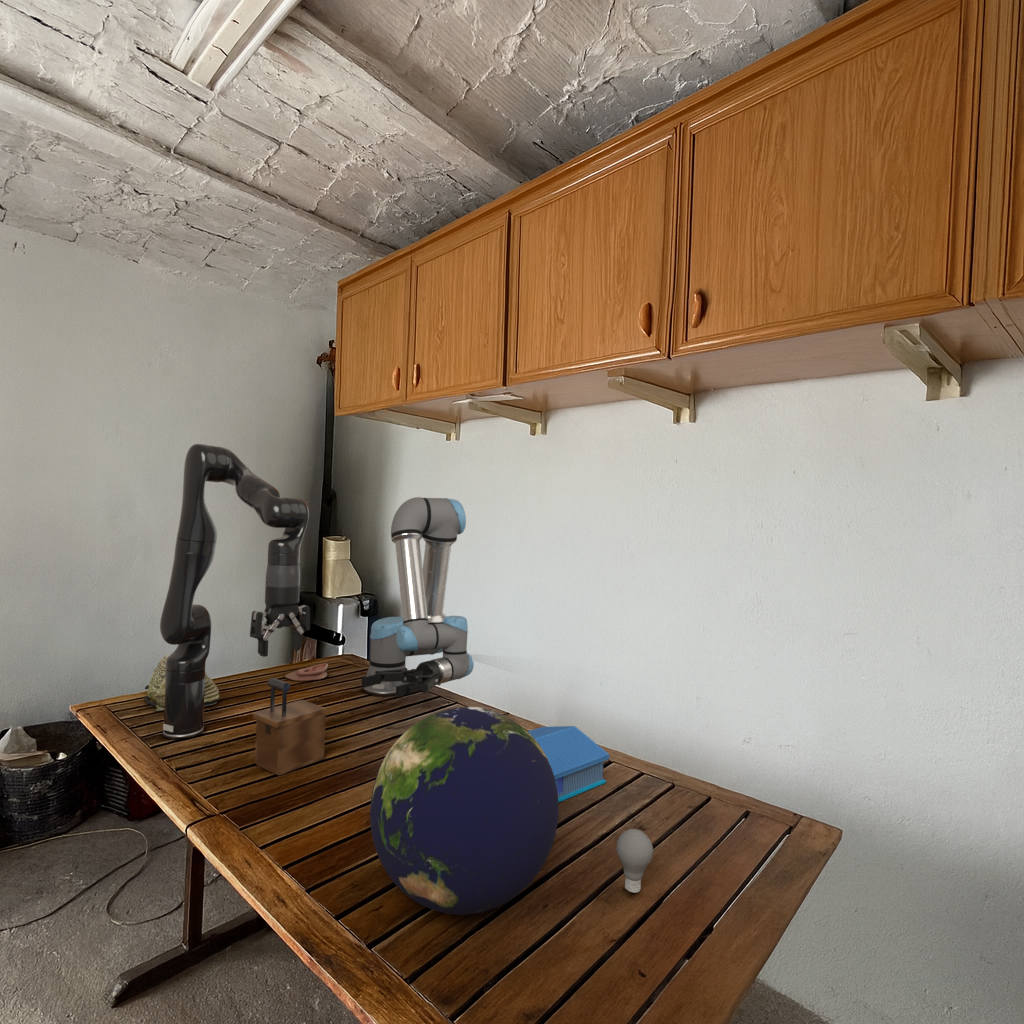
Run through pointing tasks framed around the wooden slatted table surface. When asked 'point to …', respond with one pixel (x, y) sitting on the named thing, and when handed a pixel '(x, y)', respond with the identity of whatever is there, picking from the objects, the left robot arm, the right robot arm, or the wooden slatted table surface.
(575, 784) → the model building
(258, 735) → the chest
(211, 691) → the fossil
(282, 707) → the lid
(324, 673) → the anatomical model
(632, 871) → the light bulb
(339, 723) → the wooden slatted table surface
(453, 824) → the globe
